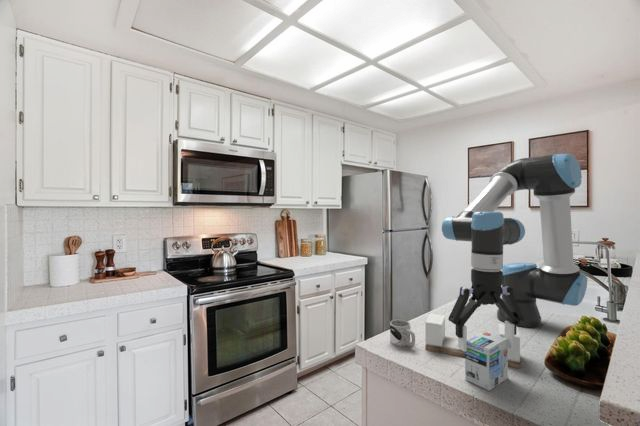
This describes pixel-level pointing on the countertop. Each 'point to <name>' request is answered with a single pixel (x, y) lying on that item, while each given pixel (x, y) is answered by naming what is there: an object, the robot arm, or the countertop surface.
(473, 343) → the light bulb box
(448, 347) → the rail board
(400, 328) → the mug
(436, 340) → the mounted modules
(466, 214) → the robot arm
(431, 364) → the countertop surface
